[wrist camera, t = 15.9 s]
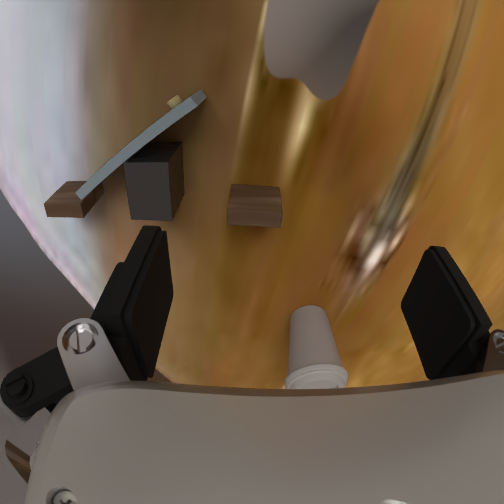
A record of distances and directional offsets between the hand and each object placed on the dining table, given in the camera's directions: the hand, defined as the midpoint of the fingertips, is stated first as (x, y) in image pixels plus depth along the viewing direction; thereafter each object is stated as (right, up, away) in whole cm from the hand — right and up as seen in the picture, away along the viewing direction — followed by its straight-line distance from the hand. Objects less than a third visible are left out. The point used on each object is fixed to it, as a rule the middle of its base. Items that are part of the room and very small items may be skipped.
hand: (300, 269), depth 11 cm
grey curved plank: (-15, +15, +24) cm, 32 cm away
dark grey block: (-13, +11, +27) cm, 32 cm away
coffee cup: (+8, -11, +43) cm, 45 cm away
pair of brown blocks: (-13, +9, +29) cm, 33 cm away
